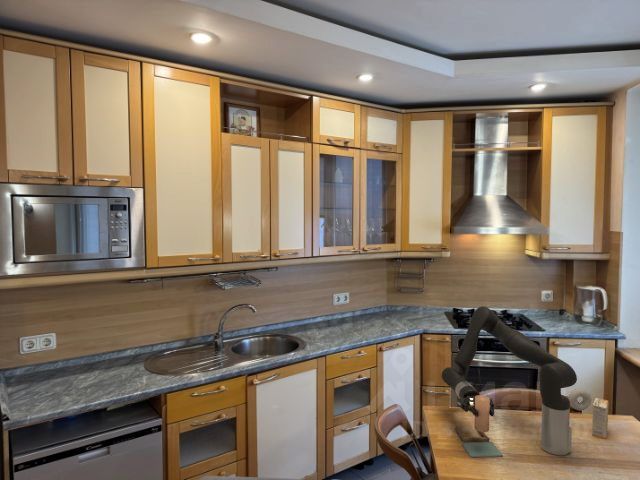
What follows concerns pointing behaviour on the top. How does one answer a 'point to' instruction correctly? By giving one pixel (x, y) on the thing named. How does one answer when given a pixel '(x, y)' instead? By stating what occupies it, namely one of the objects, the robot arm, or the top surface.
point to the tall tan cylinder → (482, 413)
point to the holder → (471, 440)
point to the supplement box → (600, 418)
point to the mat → (482, 449)
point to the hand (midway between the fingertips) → (485, 414)
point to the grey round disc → (585, 401)
